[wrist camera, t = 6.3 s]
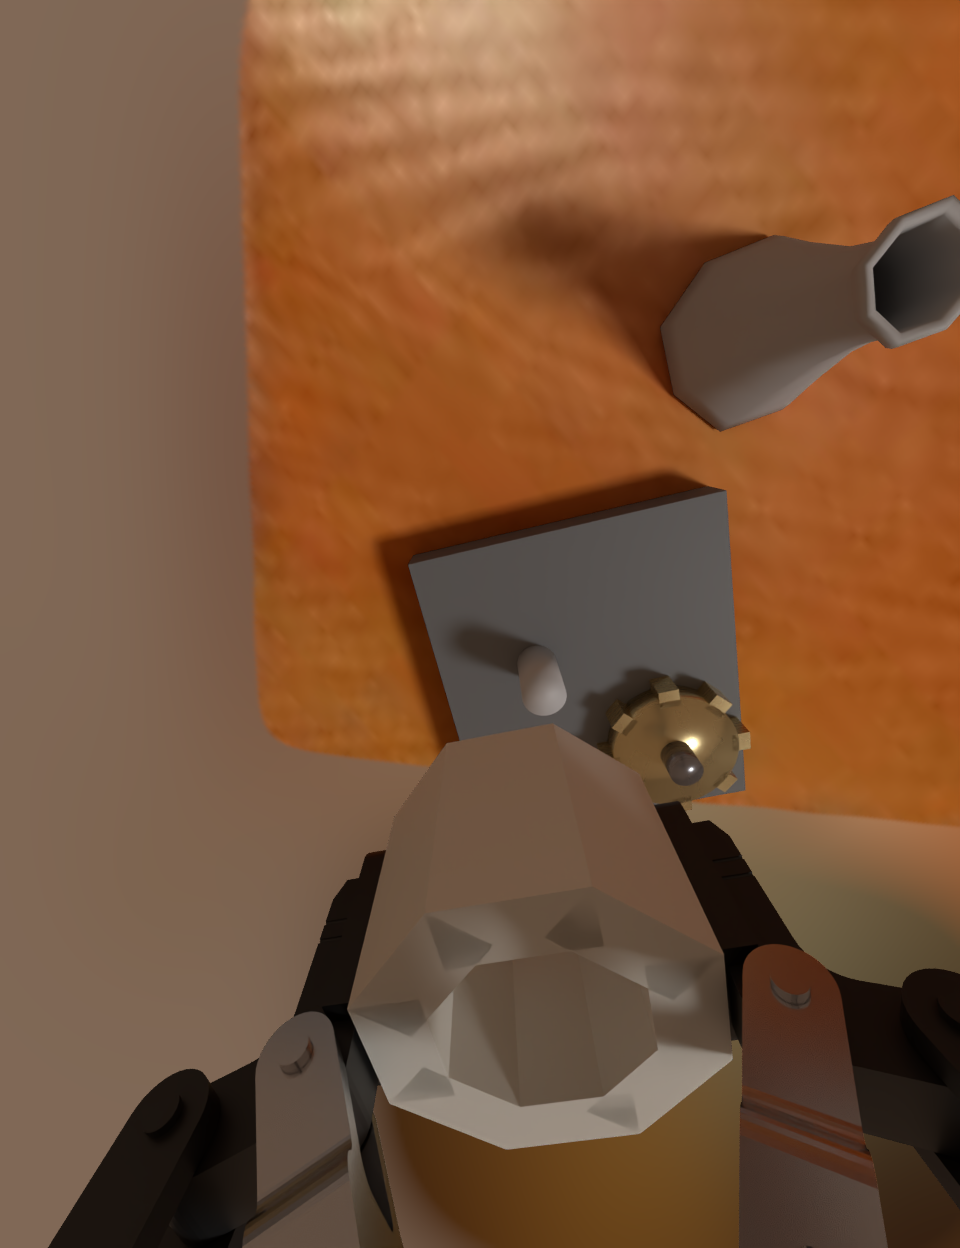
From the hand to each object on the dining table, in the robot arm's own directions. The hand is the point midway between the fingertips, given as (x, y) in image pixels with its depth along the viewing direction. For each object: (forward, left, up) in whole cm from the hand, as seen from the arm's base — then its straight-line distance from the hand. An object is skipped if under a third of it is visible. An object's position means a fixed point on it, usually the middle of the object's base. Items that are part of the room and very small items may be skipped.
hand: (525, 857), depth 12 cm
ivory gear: (0, 0, -1) cm, 1 cm away
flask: (-11, +13, -17) cm, 24 cm away
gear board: (+4, +4, -16) cm, 17 cm away
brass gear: (+8, +7, -14) cm, 18 cm away
